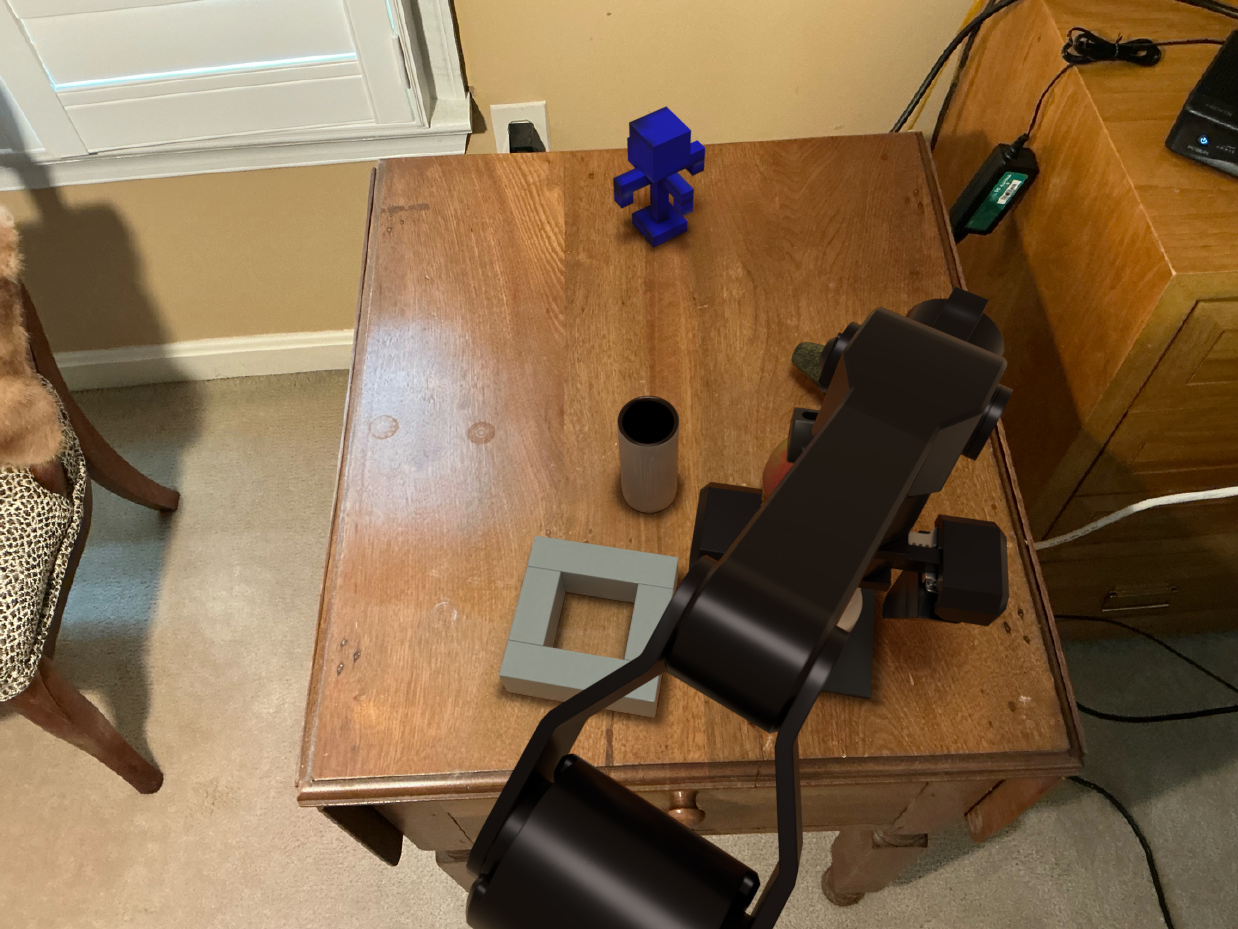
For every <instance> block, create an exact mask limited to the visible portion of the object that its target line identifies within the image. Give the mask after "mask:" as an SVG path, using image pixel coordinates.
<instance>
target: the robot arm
mask: <svg viewBox="0 0 1238 929" xmlns="http://www.w3.org/2000/svg"><path fill="white" fill-rule="evenodd" d="M989 302H990V299H989V298H987V297H984V296H981V295H978V294H976V293H974V292H971V291H968V290H967V289H963V288H961V287H958V286H954V287H953V289H952V290H951V293H950V294H949V296H948V297H947V298H931V299H926V300H923V301H921V302H919V303H917V304H915V305H914V306H912V307H911V308H910V309H909V310H908V311H907V312H906V314H905V315H903V314H900V313H899V312H896V311H893V310H891V309H888V308H886V307H883V306H879V307H876V308H874V309H872V310H871V311H870V312H869V314H868V315H866V318H865V319H864V320H863V322H862V323H861V324H860V323H858V322H855V321H850V322H849V324H847V326H846V327H845V329H844V330H843V332H841V331H838V333H837V335H836V336H835V337H831V338H829V339H828V340H827V342H826V343H825V347H824V349H823V351H822V353H821V355H820V358H819V365H820V368H821V371H822V373H821V375H820V378H819V380H818V384H819V388H818V390H819V392H822V393H823V392H824V393H826V395H825V394H824V393H823V394H824V398H823V401H822V403H821V406H820V408H819V409H813V408H807V407H806V408H805V407H797V406H795V407H793V411H792V415H791V419H790V423H789V427H788V428H789V429H788V434H787V437H788V440H787V454H786V461H787V462H788V463H794V464H793V465H792V466H791V468H790V469H789V470H788V472H787V473H786V474H785V476H784V477H783V478H782V479H781V481H780V482H779V483H778V485H777V486H776V487H775V489H774V490H773V491H772V493H771V494H770V495H769V496H768V498H766V499H765V500H764V502H763V492H764V488H758V487H752V486H751V487H750V486H743V485H737V484H730V483H722V482H715V481H709V482H708V483H707V484H706V485H704V486H703V487H702V488H701V489H699V494H698V500H697V507H696V512H695V519H694V525H693V532H692V538H691V544H690V552H689V559H688V570H687V573H686V575H685V576H684V577H683V579H682V580H681V581H680V583H679V585H678V586H677V587H676V592H675V593H674V595H673V597H672V598H671V600H670V602H669V604H668V606H667V607H666V609H665V611H664V613H663V615H662V617H661V619H660V620H659V622H658V624H657V626H656V628H655V630H654V632H653V633H652V635H651V637H650V639H649V641H648V643H647V645H646V646H645V648H644V650H643V652H642V653H641V654H640V655H639V656H638V657H636V658H635V659H633V660H632V661H630V662H628V663H627V664H625V665H623V666H622V667H620V668H619V669H617V670H615V671H614V672H612V673H610V674H609V675H607V676H605V677H604V678H602V679H601V680H599V681H597V682H596V683H594V684H592V685H591V686H589V687H588V688H586V689H584V690H583V691H581V692H579V693H578V694H576V695H574V696H573V697H571V698H570V699H568V700H566V701H565V702H562V703H560V704H558V705H557V706H555V707H553V708H551V709H550V710H549V711H548V712H547V713H546V714H545V715H544V716H543V717H542V718H541V719H539V722H538V723H537V726H536V727H535V730H534V731H533V733H532V735H531V737H530V739H529V740H528V743H527V744H526V746H525V748H524V750H523V752H522V753H521V755H520V757H519V759H518V761H517V762H516V765H515V766H514V768H513V770H512V772H511V774H510V775H509V777H508V779H507V780H506V782H505V785H504V786H503V787H502V789H501V792H500V793H499V796H498V797H497V799H496V801H495V803H494V805H493V806H492V808H491V810H490V812H489V814H488V815H487V818H486V820H485V821H484V823H483V825H482V827H481V828H480V830H479V832H478V835H477V837H476V838H475V841H474V843H473V845H472V847H471V849H470V852H469V855H468V858H467V862H466V865H465V869H466V873H467V874H468V875H470V876H471V877H472V878H473V879H475V880H474V881H473V882H472V884H471V885H470V888H469V891H468V895H467V897H466V900H465V901H466V903H465V921H466V924H467V925H468V927H469V928H471V929H774V928H775V926H776V924H777V921H779V918H780V916H781V914H782V912H783V910H784V908H785V906H786V905H787V903H788V900H790V899H789V898H790V897H791V895H792V893H793V891H794V889H795V887H796V883H797V879H798V874H799V870H800V865H801V858H802V852H803V847H804V846H803V845H804V830H803V829H804V828H803V811H802V809H803V808H802V807H803V806H802V790H801V789H802V788H801V786H802V785H801V766H800V745H799V743H800V742H799V734H800V733H801V730H802V728H803V726H804V725H805V722H806V721H807V718H808V717H809V715H810V713H811V711H812V709H813V707H814V705H815V703H816V701H817V699H818V698H819V695H820V694H821V692H822V691H821V690H822V688H823V686H824V684H825V682H826V680H827V678H828V677H829V675H830V673H831V671H832V669H833V667H834V665H835V663H836V661H837V659H838V657H839V655H840V653H841V651H842V650H843V648H844V646H845V644H846V642H847V640H848V638H849V636H850V634H851V633H850V632H848V631H846V630H844V629H842V628H840V627H839V626H837V624H838V622H839V621H840V619H841V617H842V615H843V613H844V611H845V609H846V608H847V606H848V604H849V602H850V600H851V598H852V597H853V595H854V593H855V591H856V589H857V588H863V589H869V590H875V592H882V593H886V594H885V597H884V599H883V602H882V605H881V619H882V620H887V621H888V620H890V621H910V622H911V621H912V622H924V623H925V622H927V623H942V624H951V625H960V624H962V623H963V624H969V625H974V626H975V625H976V626H981V627H989V626H990V625H992V624H993V623H995V622H996V621H997V620H998V619H999V618H1000V617H1001V616H1002V615H1003V614H1004V613H1005V611H1006V610H1007V607H1008V604H1009V598H1010V581H1009V580H1010V579H1009V564H1008V563H1009V561H1008V559H1009V558H1008V537H1007V536H1006V534H1005V533H1004V531H1003V530H1002V528H1000V526H999V525H998V524H997V523H996V522H995V521H993V520H992V521H991V520H984V519H977V518H971V517H962V516H956V515H949V514H942V513H938V515H937V516H936V518H935V520H934V521H933V522H934V524H933V525H934V527H933V529H932V530H931V531H929V530H922V529H919V530H917V532H915V531H912V530H913V528H914V527H915V525H916V523H917V521H918V519H919V517H920V515H921V514H922V512H923V511H924V508H925V506H926V504H927V503H928V501H929V499H930V498H931V496H932V494H935V493H940V492H941V491H942V490H943V488H944V487H945V485H946V483H947V481H948V480H949V477H950V476H951V474H952V472H953V470H954V468H955V466H956V464H957V462H958V461H959V459H960V457H961V456H963V457H964V458H966V459H969V460H971V461H973V462H976V461H977V459H978V458H979V457H980V454H981V453H982V451H983V450H984V448H985V446H986V444H987V442H988V441H989V439H990V437H991V436H992V433H993V431H994V429H995V428H996V425H997V424H998V422H999V420H1000V418H1001V416H1002V415H1003V413H1004V410H1005V408H1006V407H1007V404H1008V403H1009V400H1010V398H1011V396H1012V394H1013V392H1014V389H1013V388H1011V387H1008V386H1006V385H1004V384H1001V383H1000V381H1001V379H1002V377H1003V374H1004V373H1005V371H1006V369H1007V367H1008V361H1007V359H1006V357H1004V353H1005V351H1006V348H1005V340H1004V337H1003V334H1002V331H1001V330H1000V328H999V327H998V326H997V324H996V322H995V321H993V319H992V318H990V316H988V314H986V313H985V310H986V308H987V306H988V304H989ZM892 570H899V571H901V572H900V573H899V575H898V576H897V578H896V579H895V581H894V582H893V583H892ZM665 672H666V673H667V674H668V675H670V676H672V677H674V679H677V680H678V681H680V682H682V683H683V684H685V685H686V686H688V687H690V688H692V689H693V690H695V691H697V692H699V693H700V694H702V695H704V696H705V697H707V698H709V699H711V700H712V701H714V702H716V703H717V704H719V705H720V706H722V707H724V708H725V709H727V710H729V711H731V713H734V714H736V715H737V716H739V717H741V718H743V719H744V720H746V721H747V722H749V723H750V724H752V725H754V726H755V727H757V728H759V729H761V730H763V731H764V732H765V733H767V734H769V735H770V734H774V733H776V738H775V743H774V747H773V749H774V774H775V796H776V800H775V801H776V820H777V821H776V823H777V845H778V846H777V847H778V848H777V849H778V861H777V862H776V864H775V866H774V868H773V870H772V872H771V874H770V875H769V878H768V880H767V882H766V884H765V885H764V887H763V889H762V892H761V893H760V895H759V898H758V899H757V901H756V903H755V905H754V907H753V909H752V910H751V912H750V914H749V913H747V910H748V909H749V907H750V906H751V904H752V903H753V901H754V899H755V898H756V895H757V893H758V891H759V890H760V887H761V884H762V883H761V880H760V875H759V872H758V871H756V870H755V869H754V868H751V867H750V866H748V864H746V863H744V862H742V861H740V860H739V859H738V858H736V857H734V856H733V855H732V854H730V853H728V852H727V851H725V850H724V849H722V848H721V847H719V846H717V845H716V844H714V843H713V842H711V841H710V840H708V838H705V837H704V836H703V835H701V834H699V833H697V832H696V831H695V830H694V829H692V828H690V827H688V826H687V825H685V823H683V822H681V821H680V820H678V819H677V818H676V817H673V816H672V815H670V814H669V813H667V812H665V810H663V809H661V808H660V807H658V806H657V805H655V804H653V803H652V802H650V801H649V800H648V799H646V798H644V797H643V796H641V795H639V794H638V793H636V792H635V791H633V789H630V788H628V786H626V785H624V784H622V783H621V782H620V781H618V780H616V779H615V778H613V777H612V776H611V775H610V774H607V773H605V772H604V771H603V770H601V769H600V768H598V767H596V766H595V765H593V764H592V763H591V762H589V761H587V760H586V759H584V758H583V757H581V756H580V755H578V754H577V753H573V752H571V751H572V749H573V747H574V745H575V743H576V741H577V739H578V738H579V736H580V735H581V732H582V730H583V729H584V726H585V725H586V723H587V721H588V720H589V719H590V718H592V717H594V716H595V715H597V714H598V713H600V712H601V711H603V710H606V709H605V708H606V707H608V706H610V705H611V704H613V703H614V702H616V701H618V700H619V699H621V698H623V697H624V696H626V695H628V694H629V693H631V692H632V691H634V690H636V689H637V688H639V687H641V686H642V685H644V684H646V683H647V682H649V681H651V680H652V679H654V678H655V677H657V676H659V675H660V674H662V675H663V674H664V673H665Z"/></svg>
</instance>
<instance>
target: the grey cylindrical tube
mask: <svg viewBox="0 0 1238 929" xmlns="http://www.w3.org/2000/svg"><path fill="white" fill-rule="evenodd" d="M616 426H617V427H616V428H617V439H618V440H617V441H618V453H619V454H618V455H619V469H620V482H621V492H622V497H623V498H624V500H625V502H626V503H627V504H628V505H629V507H631V508H632V509H634V510H636V511H638V512H640V513H645V514H652V513H653V514H654V513H658V512H661V511H663V510H665V509H667V508H668V507H669V506H670V505H671V504H672V503H673V502H674V500H675V499H676V496H677V489H678V471H679V470H678V469H679V468H678V466H679V442H680V440H679V439H680V417H679V412H678V411H677V409H676V408H675V406H674V405H673V404H672V403H671V402H669V401H668V400H667V399H664V398H663V397H659V396H655V395H642V396H637V397H634V398H632V399H630V400H629V401H628V402H626V403H625V404H624V405H623V406H622V407H621V409H620V411H619V413H618V415H617V418H616Z"/></svg>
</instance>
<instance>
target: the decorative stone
mask: <svg viewBox="0 0 1238 929" xmlns="http://www.w3.org/2000/svg"><path fill="white" fill-rule="evenodd" d="M825 345H826V344H825ZM825 345H824V344H821V343H816V342H811V341H802V342H799V343H798V344H797V345H796V347H795V348H794V350H793V352H792V354H791V359H790V361H791V363H792V364H793V366H794V367H795V368H796V369H797V370H799V371H800V372H801V373H802V375H804V376H805V378H807V379H808V380H810V382H811V383H812V384H814V386H815V387H816V388H817V389H819V384H818V380H819V378H820V375H821V373H822V371H821V368H820V365H819V358H820V355H821V353H822V351H823V349H824V347H825ZM822 393H823V395H824V396H825V395H826V393H824V392H822Z"/></svg>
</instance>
